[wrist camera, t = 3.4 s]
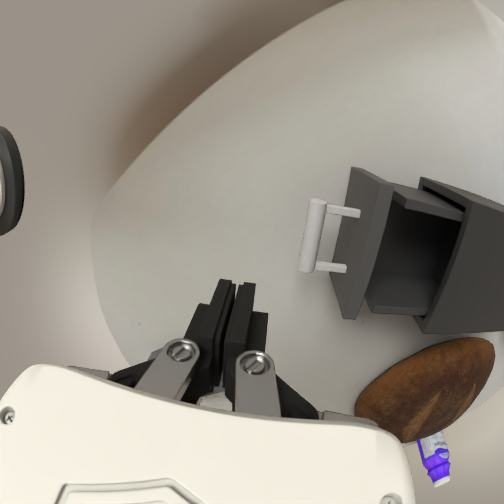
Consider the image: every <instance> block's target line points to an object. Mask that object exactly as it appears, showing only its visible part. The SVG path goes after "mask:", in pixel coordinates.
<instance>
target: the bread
mask: <svg viewBox="0 0 504 504" xmlns="http://www.w3.org/2000/svg"><path fill="white" fill-rule="evenodd" d="M494 360H495V351H494V347H493V344H492V343H490V342H489V341H487V340H485V339H483V338H475V337H467V338H460V339H455V340H451V341H448V342H444V343H441V344H438V345H436V346H433V347H430V348H427V349H425V350H423V351H421V352H419V353H417V354H415V355H413V356H411V357H409V358H407V359H405V360H403V361H402V362H400V363H398V364H396V365H394V366H393V367H392V368H390V369H389V370H388V371H386V372H385V373H383V374H382V375H380V376H379V377H378V378H377V379H376V380H375V381H374V382H372V383H371V384H370V385H369V386H368V387H367V388H366V389H365V390H364V391H363V392H362V393H361V395H360V396H359V398H358V400H357V402H356V405H355V416H356V417H362V418H368V419H371V420H373V421H374V422H376V423H377V425H378V426H379V428H381V429H383V430H386V431H388V432H390V433H392V434H393V435H394V436H396V437H397V438H398V440H399V441H400V442H401V443H408V442H412V441H416V440H420V439H423V438H426V437H429V436H431V435H434V434H436V433H438V432H440V431H441V430H443V429H445V428H446V427H448V426H449V425H451V424H452V423H453V422H455V421H456V420H457V419H458V418H459V417H460V416H461V415H462V414H463V413H464V412H465V411H466V410H467V409H468V408H469V407H470V406H471V404H472V403H473V402H474V400H475V399H476V397H477V396H478V395H479V393H480V392H481V390H482V389H483V387H484V386H485V384H486V382H487V380H488V378H489V376H490V373H491V371H492V369H493V365H494Z"/></svg>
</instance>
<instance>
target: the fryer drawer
mask: <svg viewBox="0 0 504 504" xmlns="http://www.w3.org/2000/svg"><path fill="white" fill-rule="evenodd" d="M465 210H466V208H465V207H463V206H462V205H460V204H458V203H456V202H454V201H453V200H451V199H449V198H447V197H444V196H440V195H437V194H433V193H430V192H426V191H423V190H419V189H415V188H411V187H407V186H403V185H399V184H395V183H391V182H387V181H385V180H383V179H381V178H379V177H378V176H376V175H374V174H372V173H370V172H368V171H366V170H364V169H361V168H357V167H351V173H350V179H349V185H348V190H347V196H346V201H345V206H344V207H343V206H337V205H330V204H327V202H326V201H324V200H321V199H310V200H309V206H308V212H307V218H306V224H305V230H304V236H303V241H302V247H301V252H300V258H299V263H298V270H299V271H301V272H304V273H312V272H313V271H314V269H315V270H322V271H330V277H331V280H332V283H333V286H334V290H335V293H336V296H337V300H338V303H339V307H340V310H341V314H342V317H343V319H352V320H355V319H356V317H357V314H358V312H359V309H360V306H361V303H362V301H363V298H364V296H365V299H366V301H367V303H368V306H369V308H370V310H371V313H382V314H399V315H421V316H426V315H427V313H428V311H429V309H430V307H431V304H432V302H433V300H434V298H435V296H436V293H437V291H438V289H439V286H440V284H441V281H442V279H443V277H444V274H445V271H446V269H447V266H448V264H449V261H450V258H451V255H452V253H453V250H454V247H455V244H456V241H457V238H458V234H459V231H460V228H461V224H462V221H463V217H464V214H465ZM325 213H330V214H337V215H343V216H342V221H341V226H340V230H339V235H338V239H337V244H336V248H335V252H334V256H333V261H332V263H330V262H322V261H316V258H317V253H318V248H319V244H320V239H321V234H322V229H323V224H324V218H325Z"/></svg>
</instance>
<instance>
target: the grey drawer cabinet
mask: <svg viewBox="0 0 504 504" xmlns="http://www.w3.org/2000/svg"><path fill="white" fill-rule="evenodd" d="M418 189H419V190H423V191H426V192H430V193H433V194H437V195H440V196H444V197H447V198H449V199H451V200H453V201H454V202H456V203H458V204H460V205H462V206H463V207H465V208H466V210H465V214H464V217H463V221H462V224H461V228H460V231H459V234H458V238H457V241H456V244H455V247H454V250H453V253H452V255H451V258H450V261H449V264H448V266H447V269H446V271H445V274H444V277H443V279H442V281H441V284H440V286H439V289H438V291H437V293H436V296H435V298H434V300H433V302H432V304H431V307H430V309H429V311H428V313H427V315H426V316H421V315H412V316H413V318H414V320H415V321H416V323H417V325H418V327H419V328H420V330H421V332H422V334H453V333H479V332H495V331H504V206H503V205H501V204H499V203H497V202H494V201H492V200H489V199H487V198H484V197H481V196H479V195H476V194H473V193H471V192H468V191H465V190H462V189H459V188H456V187H453V186H450V185H447V184H444V183H441V182H438V181H435V180H431V179H428V178H425V177H420V182H419V187H418Z"/></svg>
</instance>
